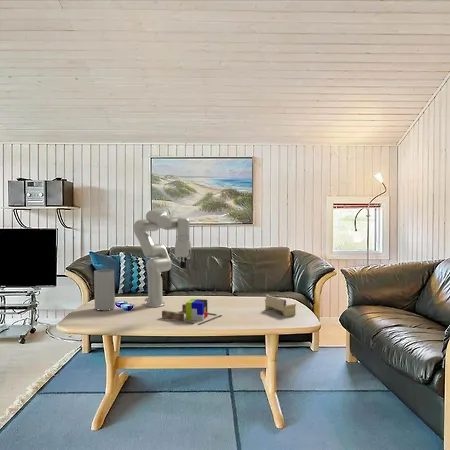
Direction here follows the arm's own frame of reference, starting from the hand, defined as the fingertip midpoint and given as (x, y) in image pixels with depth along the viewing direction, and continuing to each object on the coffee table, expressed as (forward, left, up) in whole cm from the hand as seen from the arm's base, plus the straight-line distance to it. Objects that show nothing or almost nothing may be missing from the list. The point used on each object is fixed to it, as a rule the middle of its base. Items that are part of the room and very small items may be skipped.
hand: (183, 268), depth 247 cm
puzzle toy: (+14, -5, -28) cm, 32 cm away
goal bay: (+18, -5, -28) cm, 34 cm away
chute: (+4, -5, -28) cm, 29 cm away
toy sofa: (+50, +32, -28) cm, 66 cm away
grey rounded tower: (-51, -18, -28) cm, 61 cm away
